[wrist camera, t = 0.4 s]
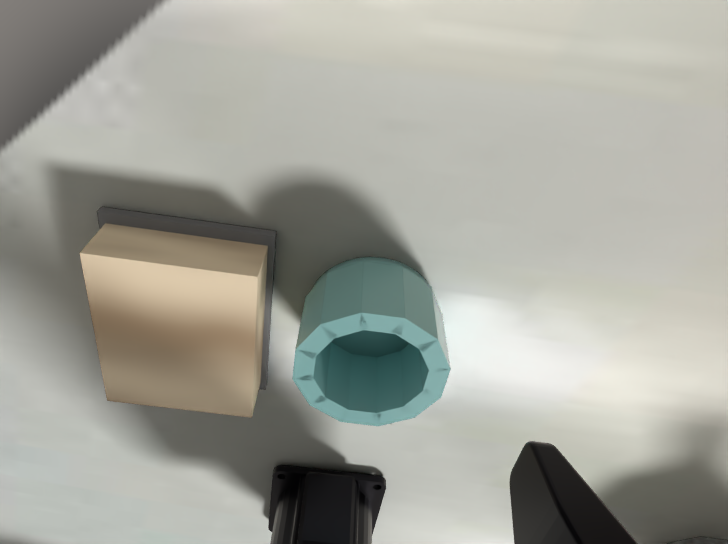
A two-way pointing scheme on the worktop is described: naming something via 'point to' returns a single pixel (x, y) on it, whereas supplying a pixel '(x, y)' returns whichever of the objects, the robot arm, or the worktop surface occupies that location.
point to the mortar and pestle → (701, 541)
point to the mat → (208, 231)
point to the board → (177, 318)
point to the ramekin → (371, 343)
